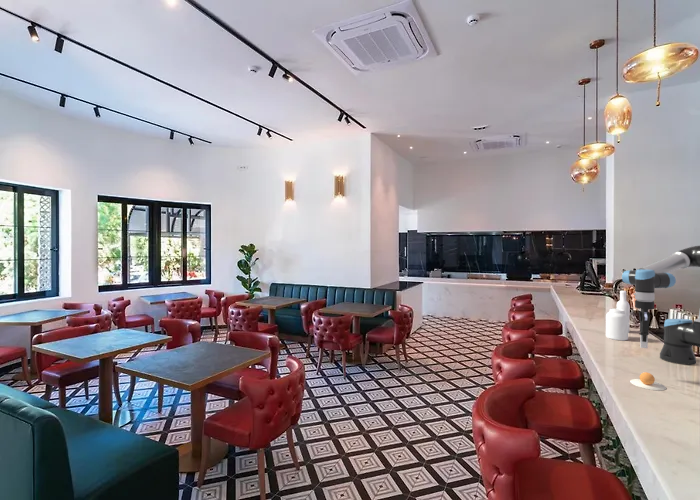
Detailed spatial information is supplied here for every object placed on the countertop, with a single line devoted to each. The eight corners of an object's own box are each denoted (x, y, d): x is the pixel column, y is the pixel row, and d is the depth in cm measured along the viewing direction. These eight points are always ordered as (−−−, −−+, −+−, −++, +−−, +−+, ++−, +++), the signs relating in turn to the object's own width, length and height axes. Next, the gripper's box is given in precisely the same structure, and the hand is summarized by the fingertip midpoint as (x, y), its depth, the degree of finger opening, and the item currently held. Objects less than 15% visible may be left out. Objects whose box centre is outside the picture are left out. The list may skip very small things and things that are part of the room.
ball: (654, 386, 169) (653, 373, 171) (656, 385, 165) (655, 373, 166) (639, 383, 172) (638, 371, 174) (640, 383, 168) (640, 370, 169)
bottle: (623, 333, 260) (624, 291, 260) (613, 330, 268) (613, 290, 267) (632, 332, 262) (632, 291, 262) (621, 329, 270) (622, 289, 269)
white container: (601, 337, 251) (601, 308, 250) (612, 335, 256) (612, 306, 256) (621, 341, 239) (621, 311, 239) (632, 339, 245) (632, 309, 244)
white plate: (663, 382, 171) (663, 382, 171) (668, 392, 160) (668, 392, 160) (628, 377, 178) (628, 377, 178) (631, 386, 167) (631, 386, 167)
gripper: (633, 298, 187) (632, 343, 188) (636, 301, 176) (635, 349, 177) (652, 299, 183) (651, 345, 184) (656, 303, 172) (655, 352, 173)
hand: (643, 347), depth 180 cm, fingers closed
